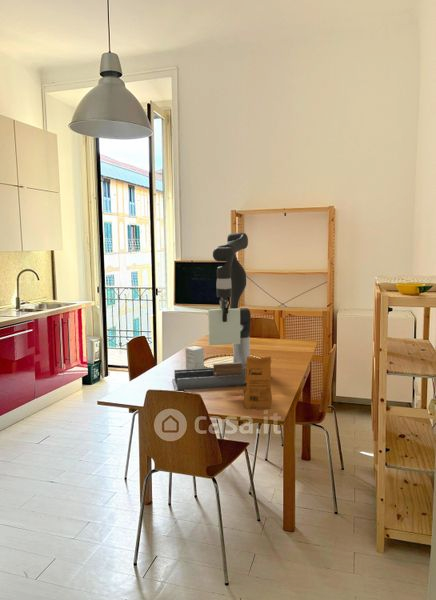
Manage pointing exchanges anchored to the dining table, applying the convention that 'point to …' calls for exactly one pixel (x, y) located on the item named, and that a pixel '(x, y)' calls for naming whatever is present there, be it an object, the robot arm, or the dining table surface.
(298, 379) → the dining table surface
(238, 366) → the offcut bundle
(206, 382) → the rack
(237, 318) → the tall sheet
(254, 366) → the coffee package
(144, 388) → the dining table surface
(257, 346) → the dining table surface
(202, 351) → the supplement box
